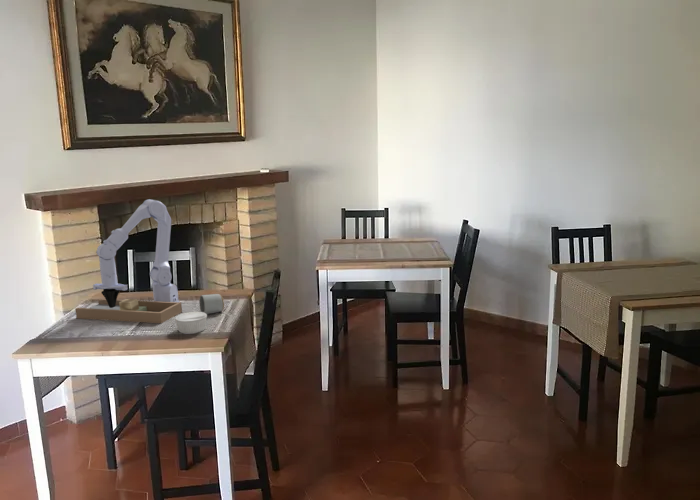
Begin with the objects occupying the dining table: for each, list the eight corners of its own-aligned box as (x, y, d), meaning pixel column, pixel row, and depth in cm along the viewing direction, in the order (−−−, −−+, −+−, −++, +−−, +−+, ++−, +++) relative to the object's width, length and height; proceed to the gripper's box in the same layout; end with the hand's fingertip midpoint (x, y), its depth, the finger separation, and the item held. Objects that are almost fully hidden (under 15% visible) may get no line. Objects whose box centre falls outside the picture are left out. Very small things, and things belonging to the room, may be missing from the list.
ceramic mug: (225, 313, 229) (224, 294, 228) (205, 316, 225) (203, 297, 224) (217, 307, 238) (215, 289, 237) (197, 310, 234) (195, 292, 233)
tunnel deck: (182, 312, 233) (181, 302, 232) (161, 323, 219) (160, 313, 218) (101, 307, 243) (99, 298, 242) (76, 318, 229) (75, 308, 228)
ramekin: (191, 337, 203) (190, 322, 202) (169, 332, 209) (168, 318, 208) (214, 327, 212) (213, 313, 211) (193, 323, 218) (191, 310, 217)
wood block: (139, 309, 232) (138, 299, 231) (131, 312, 227) (130, 302, 226) (128, 308, 233) (127, 298, 233) (120, 312, 229) (119, 302, 228)
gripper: (86, 275, 228) (90, 309, 230) (117, 276, 224) (121, 310, 227) (98, 271, 235) (102, 304, 237) (129, 272, 231) (132, 305, 233)
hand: (112, 307), depth 232 cm, fingers closed
